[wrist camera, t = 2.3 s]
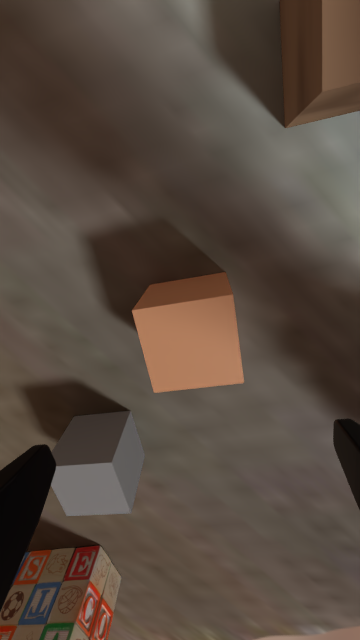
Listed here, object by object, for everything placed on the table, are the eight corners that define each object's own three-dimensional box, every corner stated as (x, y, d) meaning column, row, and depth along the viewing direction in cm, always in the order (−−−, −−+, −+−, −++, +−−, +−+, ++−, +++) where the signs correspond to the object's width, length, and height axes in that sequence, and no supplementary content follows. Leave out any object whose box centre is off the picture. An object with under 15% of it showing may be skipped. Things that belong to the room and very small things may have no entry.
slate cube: (130, 410, 22) (111, 462, 18) (145, 455, 24) (131, 513, 20) (74, 415, 23) (41, 467, 19) (92, 458, 25) (66, 515, 20)
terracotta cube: (225, 271, 18) (233, 294, 13) (234, 341, 19) (244, 383, 15) (150, 284, 18) (131, 310, 14) (165, 350, 20) (154, 392, 15)
